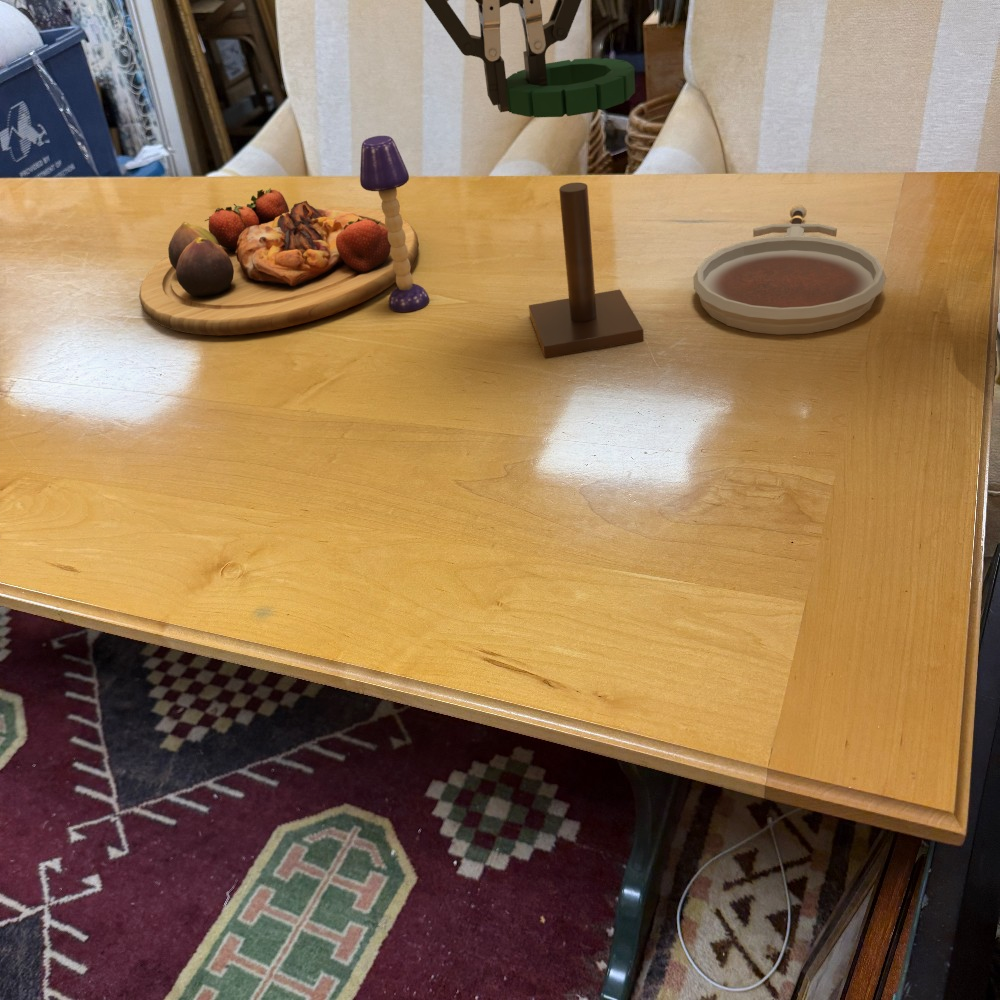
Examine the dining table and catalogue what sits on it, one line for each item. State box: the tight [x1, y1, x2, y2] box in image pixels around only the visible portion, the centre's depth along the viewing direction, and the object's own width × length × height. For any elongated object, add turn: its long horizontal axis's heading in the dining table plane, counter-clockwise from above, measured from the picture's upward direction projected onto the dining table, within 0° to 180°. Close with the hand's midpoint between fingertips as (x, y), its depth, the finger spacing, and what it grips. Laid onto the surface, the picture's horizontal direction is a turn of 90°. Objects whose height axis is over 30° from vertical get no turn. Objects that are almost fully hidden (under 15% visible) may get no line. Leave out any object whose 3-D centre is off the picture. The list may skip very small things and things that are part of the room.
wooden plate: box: [138, 187, 420, 336], centre depth 103 cm, size 32×32×8 cm
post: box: [528, 182, 645, 359], centre depth 81 cm, size 9×9×13 cm
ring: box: [506, 57, 636, 118], centre depth 71 cm, size 10×10×2 cm
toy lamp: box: [359, 135, 430, 313], centre depth 89 cm, size 5×5×17 cm
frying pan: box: [692, 204, 887, 336], centre depth 88 cm, size 17×3×28 cm
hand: (519, 106), depth 71 cm, fingers closed on ring, 2 cm apart
